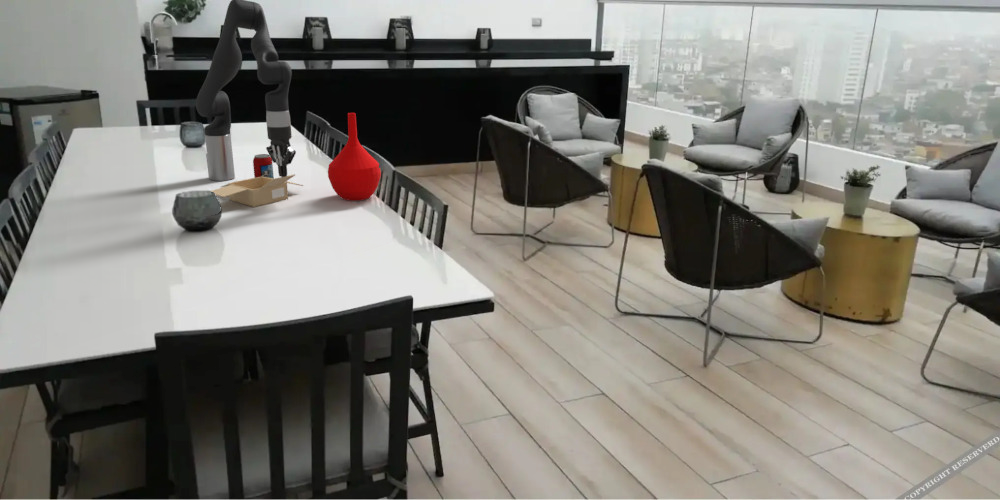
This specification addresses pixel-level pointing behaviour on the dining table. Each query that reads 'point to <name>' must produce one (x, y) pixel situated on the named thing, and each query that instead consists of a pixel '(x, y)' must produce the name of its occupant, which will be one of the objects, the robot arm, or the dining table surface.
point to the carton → (259, 192)
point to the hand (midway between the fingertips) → (283, 176)
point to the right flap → (228, 190)
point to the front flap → (277, 181)
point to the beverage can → (263, 166)
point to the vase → (354, 168)
